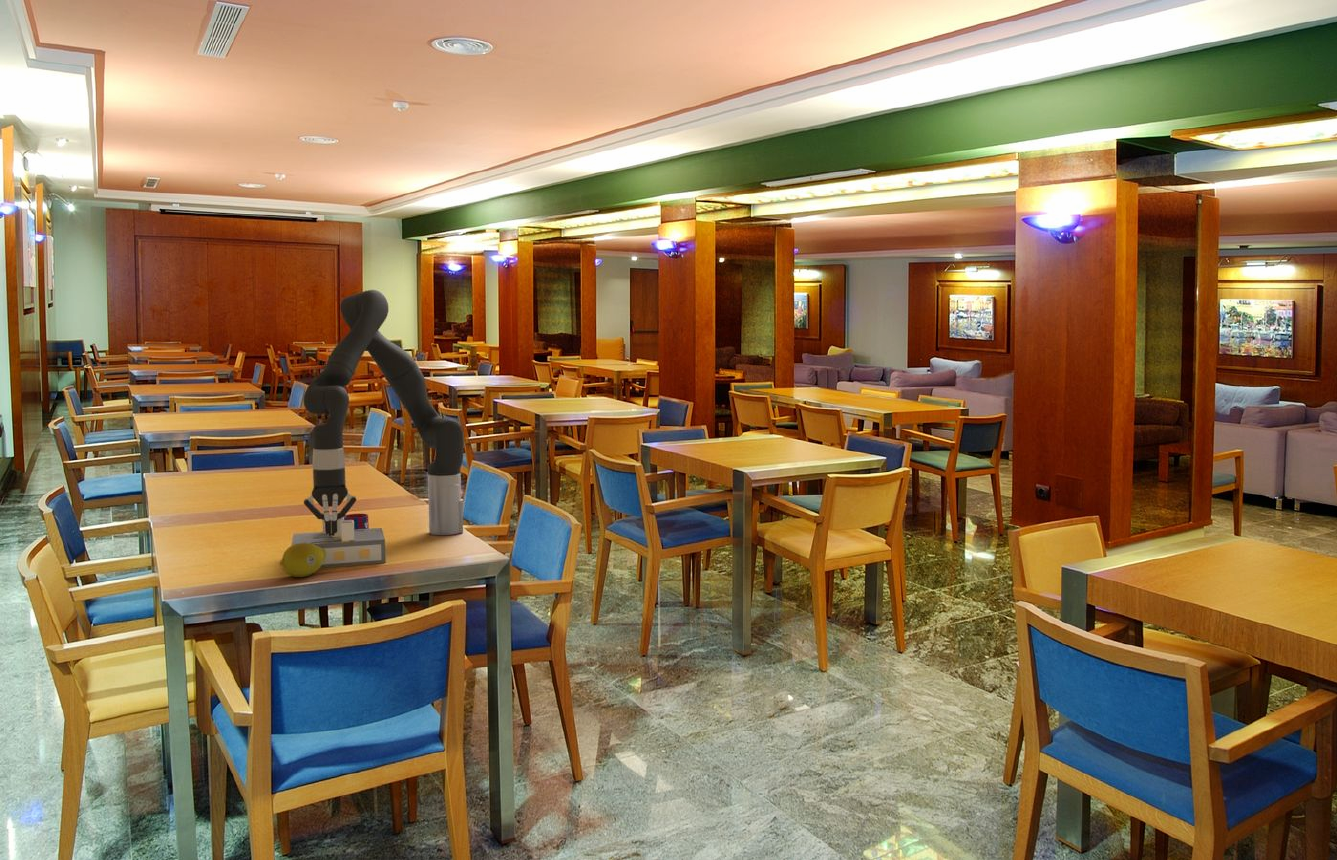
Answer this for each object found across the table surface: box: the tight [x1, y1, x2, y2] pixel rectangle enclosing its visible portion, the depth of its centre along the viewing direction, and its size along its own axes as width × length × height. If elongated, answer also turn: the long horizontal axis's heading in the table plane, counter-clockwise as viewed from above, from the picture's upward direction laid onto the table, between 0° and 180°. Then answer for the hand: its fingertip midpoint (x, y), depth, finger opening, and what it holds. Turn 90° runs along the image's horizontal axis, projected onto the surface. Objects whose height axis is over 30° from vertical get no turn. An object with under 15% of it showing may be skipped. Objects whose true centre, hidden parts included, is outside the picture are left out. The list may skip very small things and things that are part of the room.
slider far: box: [321, 512, 332, 534], centre depth 253 cm, size 3×3×5 cm
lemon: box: [279, 543, 326, 578], centre depth 233 cm, size 11×8×8 cm
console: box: [290, 527, 387, 569], centre depth 249 cm, size 22×16×6 cm
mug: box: [344, 513, 370, 530], centre depth 273 cm, size 7×10×7 cm
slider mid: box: [332, 517, 344, 537], centre depth 249 cm, size 3×3×5 cm
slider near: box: [341, 520, 355, 541], centre depth 244 cm, size 3×3×5 cm
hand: (331, 535), depth 243 cm, fingers closed
